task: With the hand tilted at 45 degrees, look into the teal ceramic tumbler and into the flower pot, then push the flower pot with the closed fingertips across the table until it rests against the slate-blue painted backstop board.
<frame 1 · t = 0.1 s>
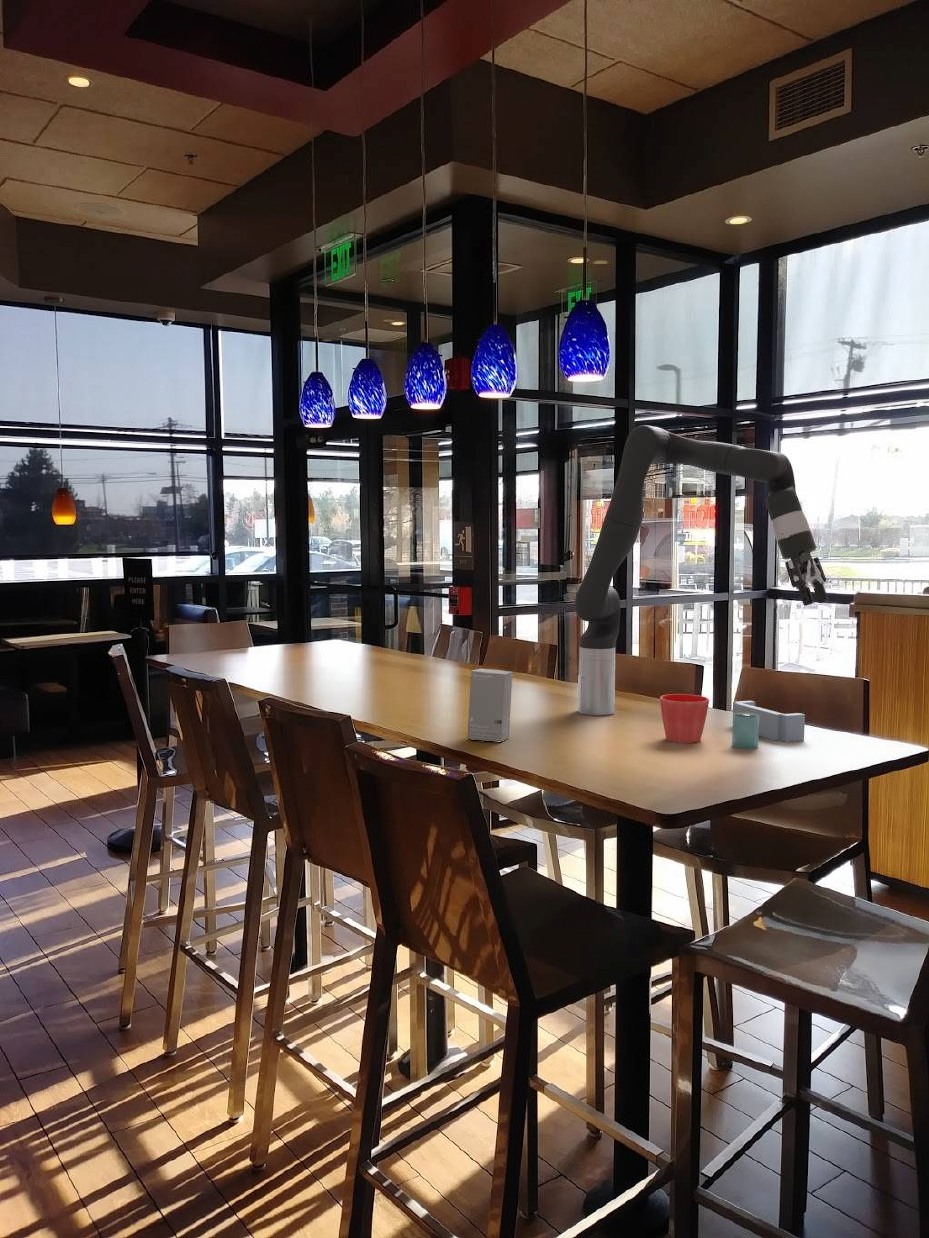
hand: (816, 603, 224), 31 cm above the table, tool tilted 20°, fingers open, 8 cm apart
flower pot: (683, 740, 228), on the table
skincare box: (489, 740, 228), on the table
tumbler: (745, 746, 222), on the table
backstop: (758, 733, 235), on the table
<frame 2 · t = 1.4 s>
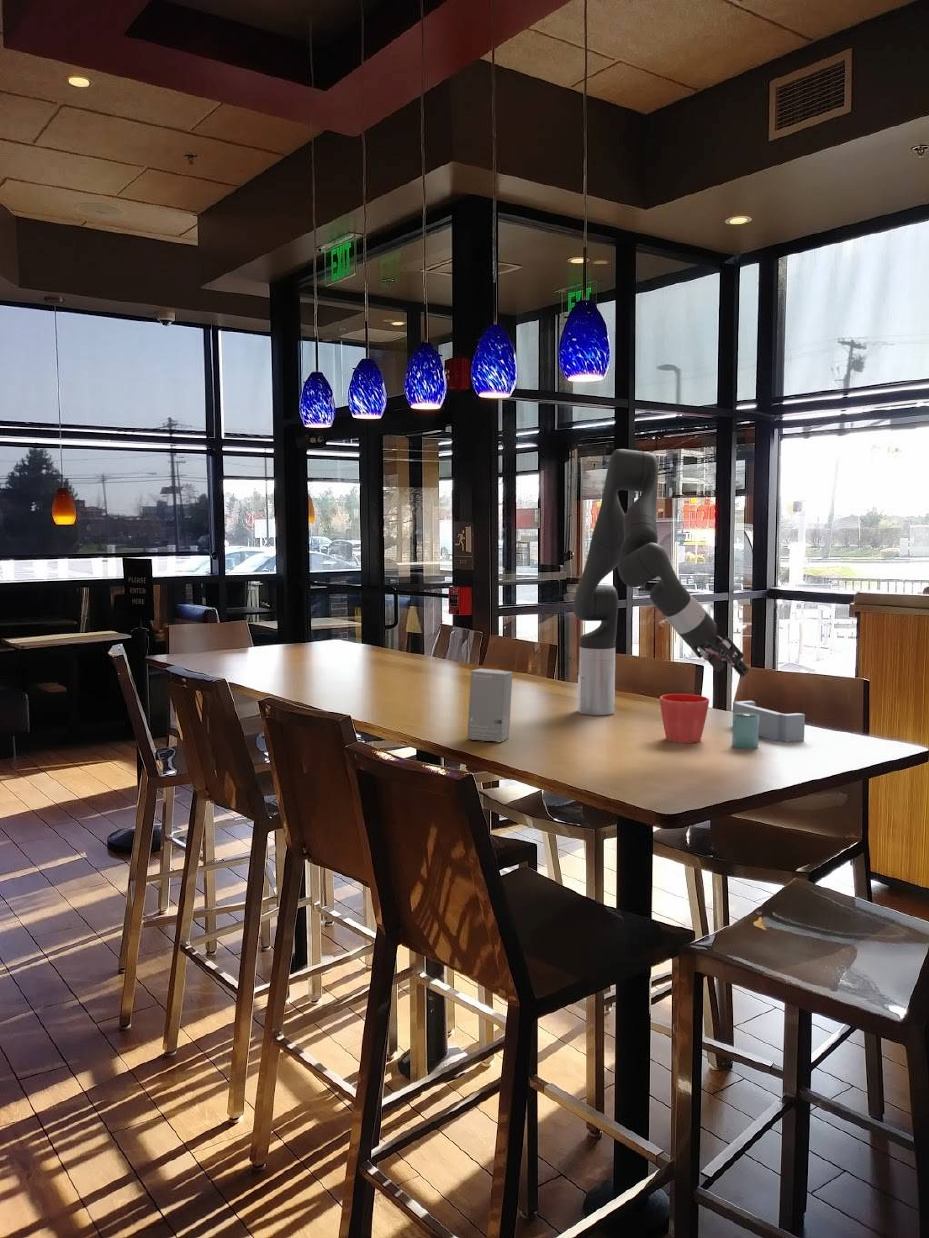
hand: (733, 671, 219), 17 cm above the table, tool tilted 45°, fingers open, 8 cm apart
nothing on the table moved.
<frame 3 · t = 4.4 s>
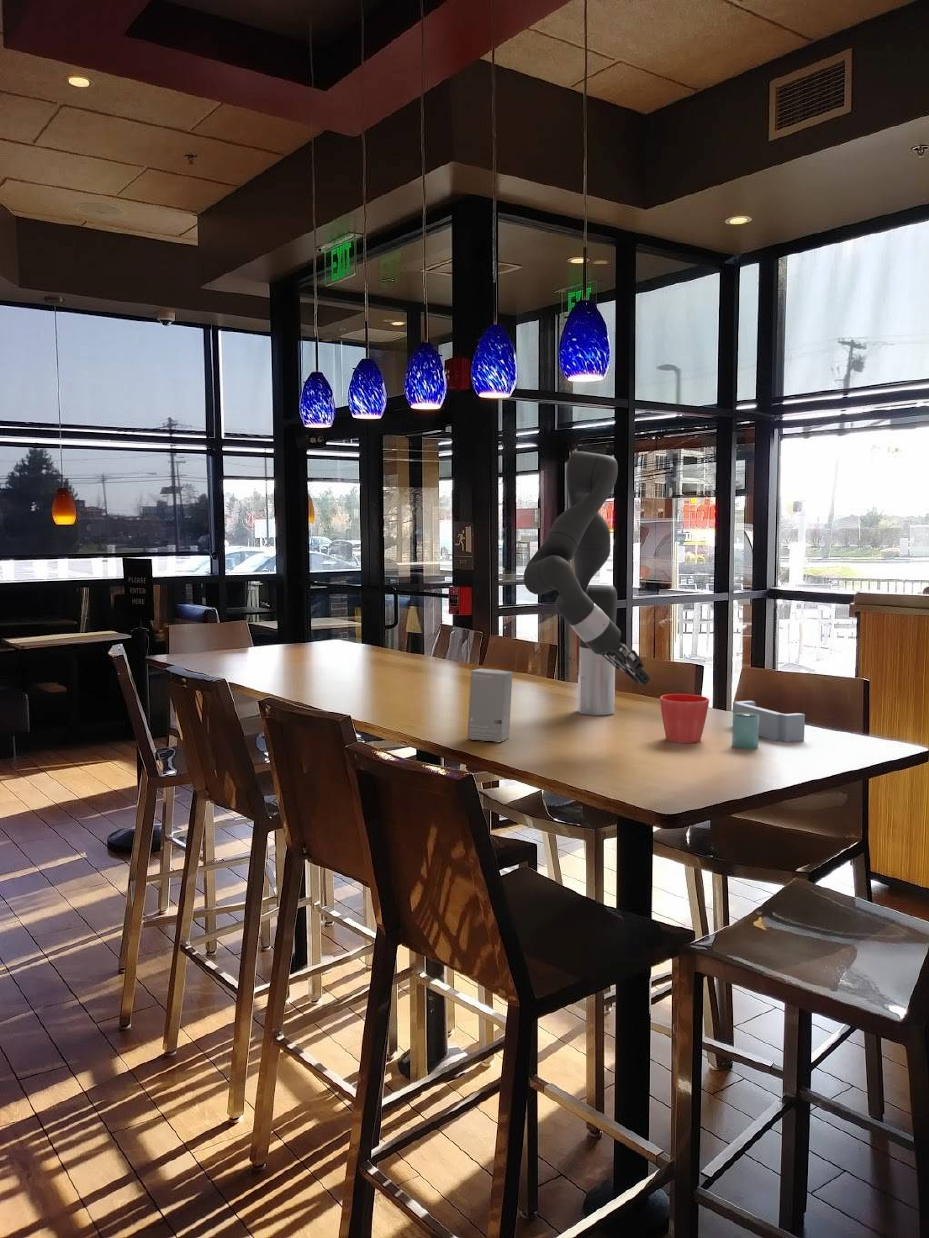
hand: (642, 680, 223), 14 cm above the table, tool tilted 45°, fingers open, 3 cm apart
nothing on the table moved.
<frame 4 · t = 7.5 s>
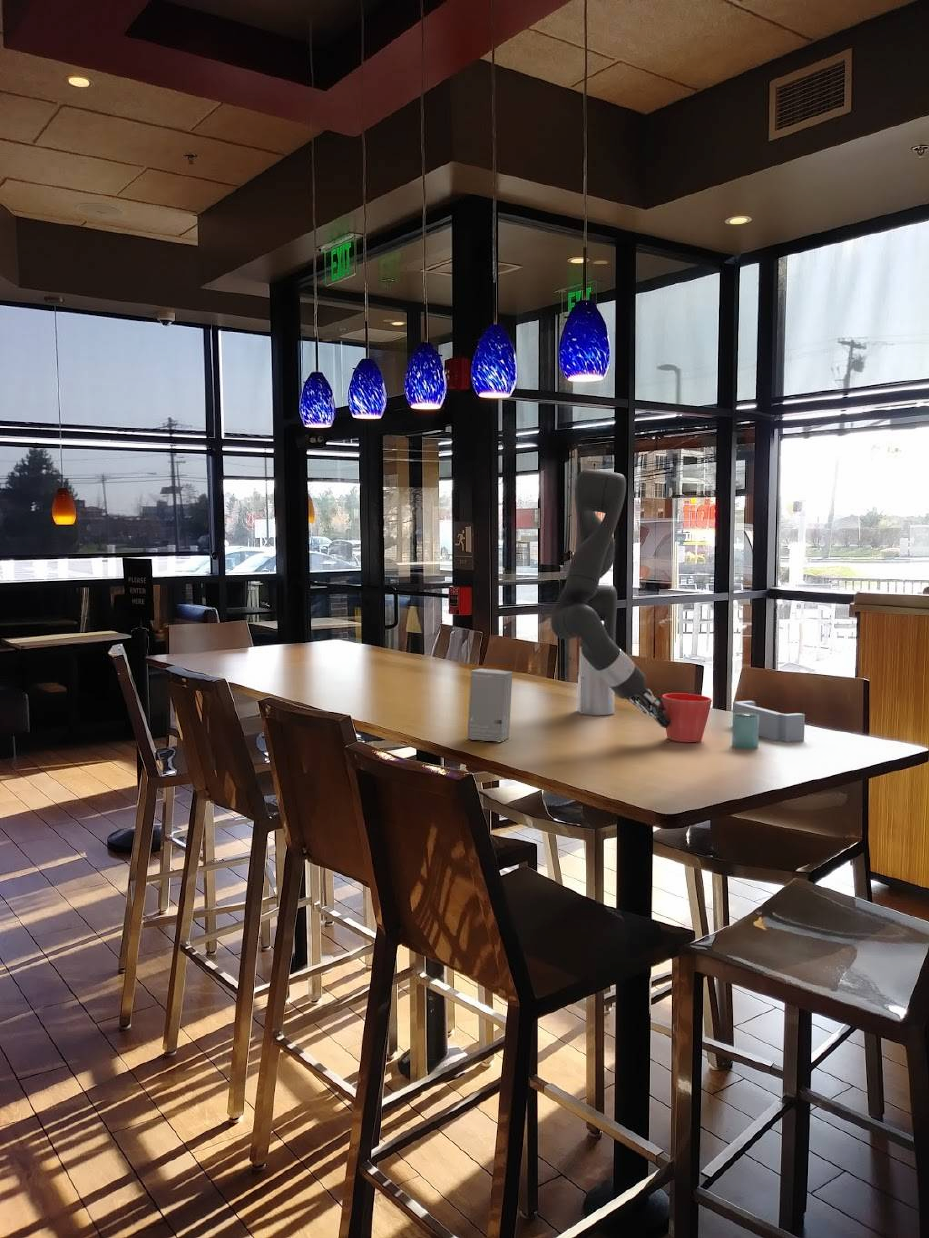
hand: (666, 724, 226), 4 cm above the table, tool tilted 45°, fingers closed
flower pot: (684, 739, 228), on the table, touching gripper
everything else where it was.
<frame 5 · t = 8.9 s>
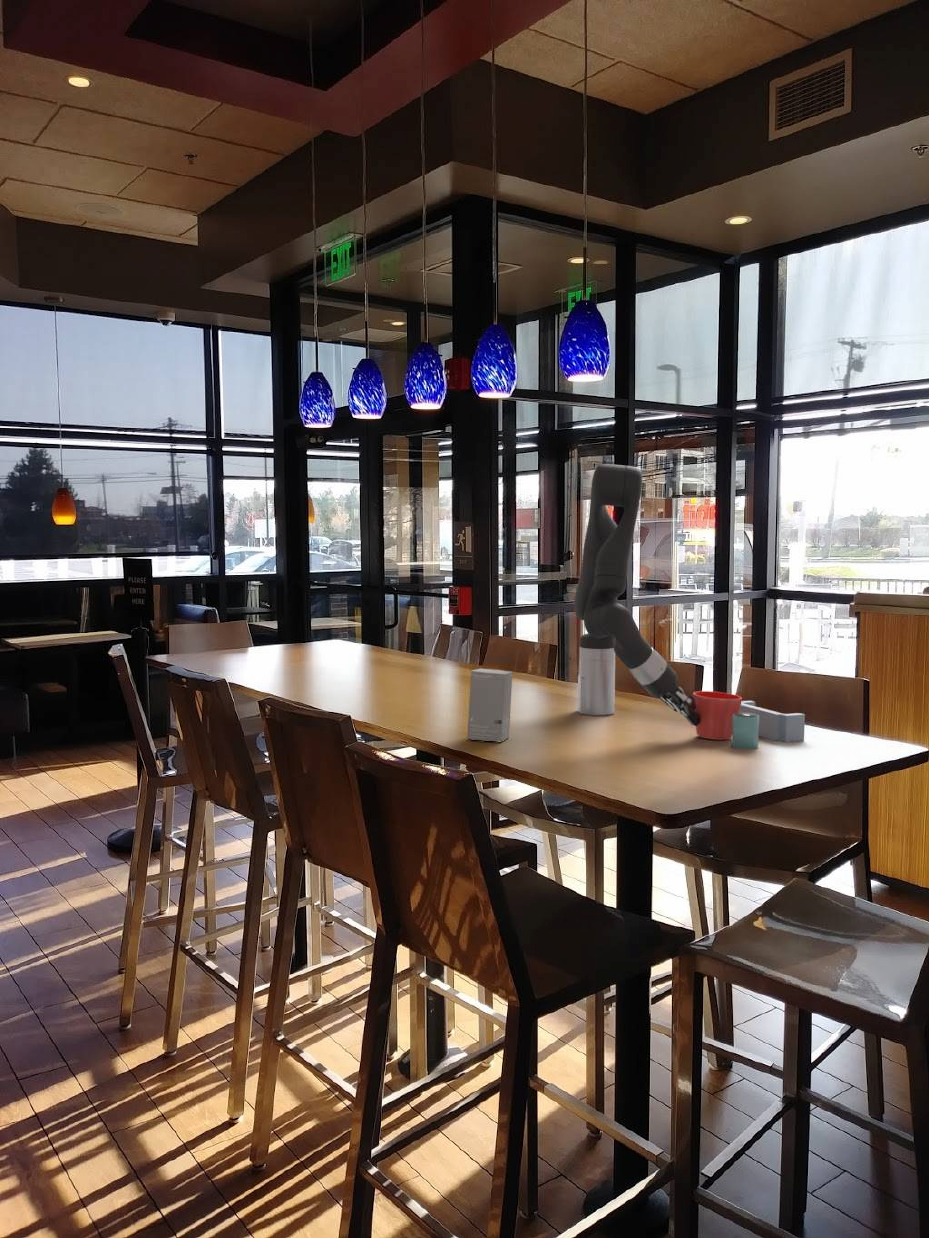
hand: (697, 722, 229), 4 cm above the table, tool tilted 45°, fingers closed
flower pot: (714, 737, 231), on the table, touching gripper
everything else where it was.
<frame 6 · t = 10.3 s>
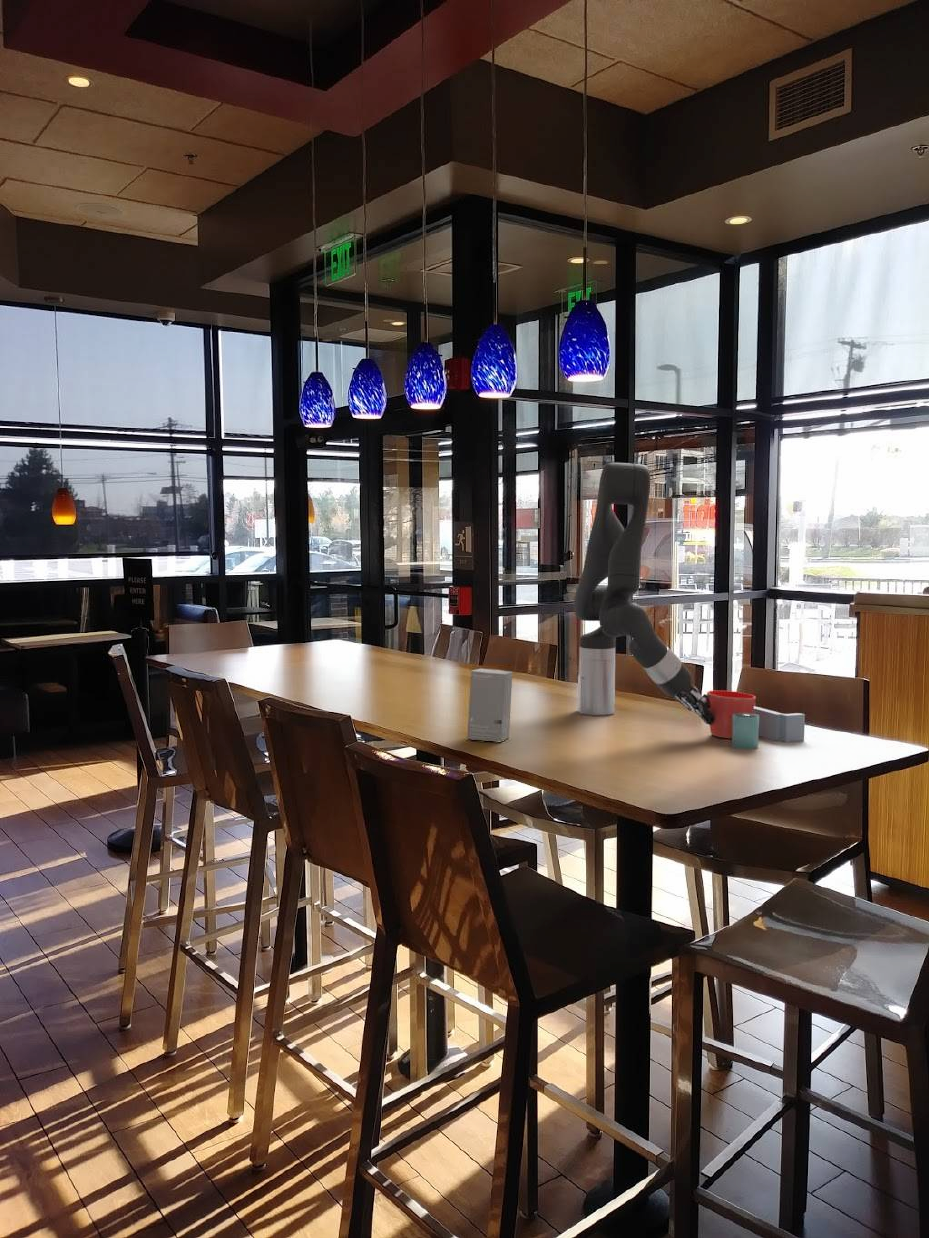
hand: (711, 721, 230), 4 cm above the table, tool tilted 45°, fingers closed
flower pot: (727, 736, 232), on the table, touching gripper
everything else where it was.
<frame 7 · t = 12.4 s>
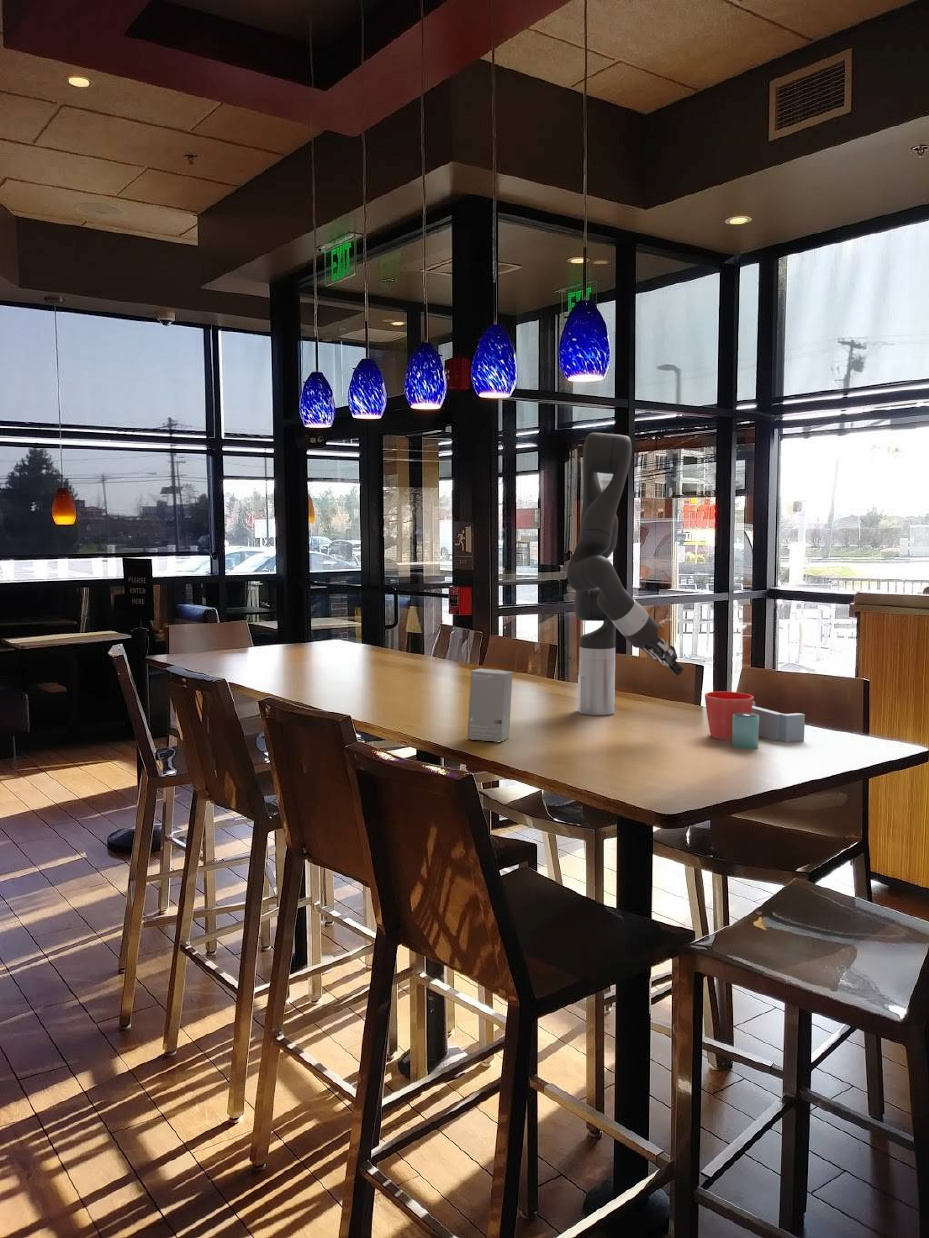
hand: (679, 672, 235), 14 cm above the table, tool tilted 45°, fingers closed
flower pot: (727, 737, 232), on the table
everything else where it was.
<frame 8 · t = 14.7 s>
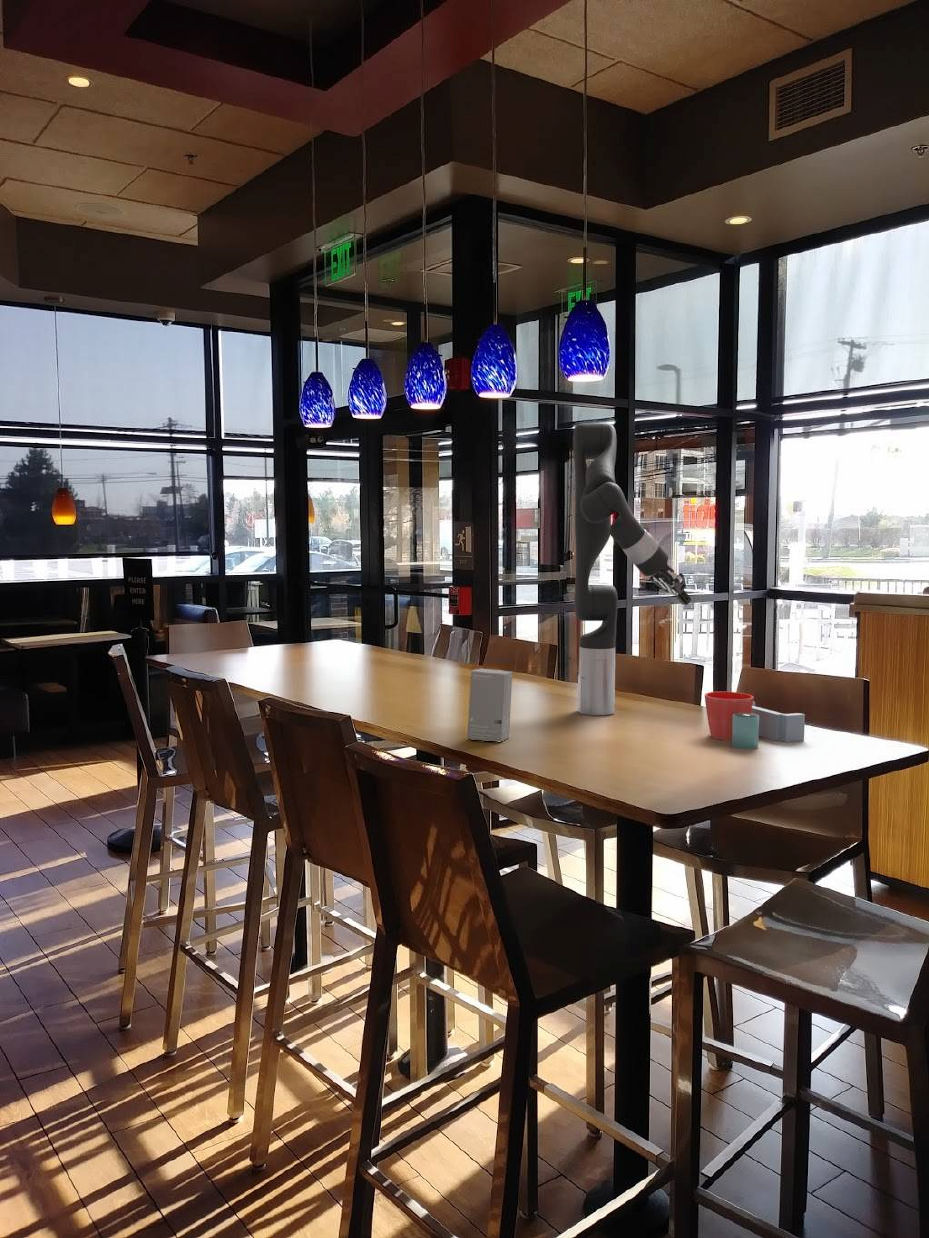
hand: (687, 602, 247), 30 cm above the table, tool tilted 45°, fingers closed
nothing on the table moved.
at the end: flower pot inside the target area (1.4 cm from its centre), on the table; flower pot tilted 0°; flower pot moved 11.8 cm from its start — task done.
